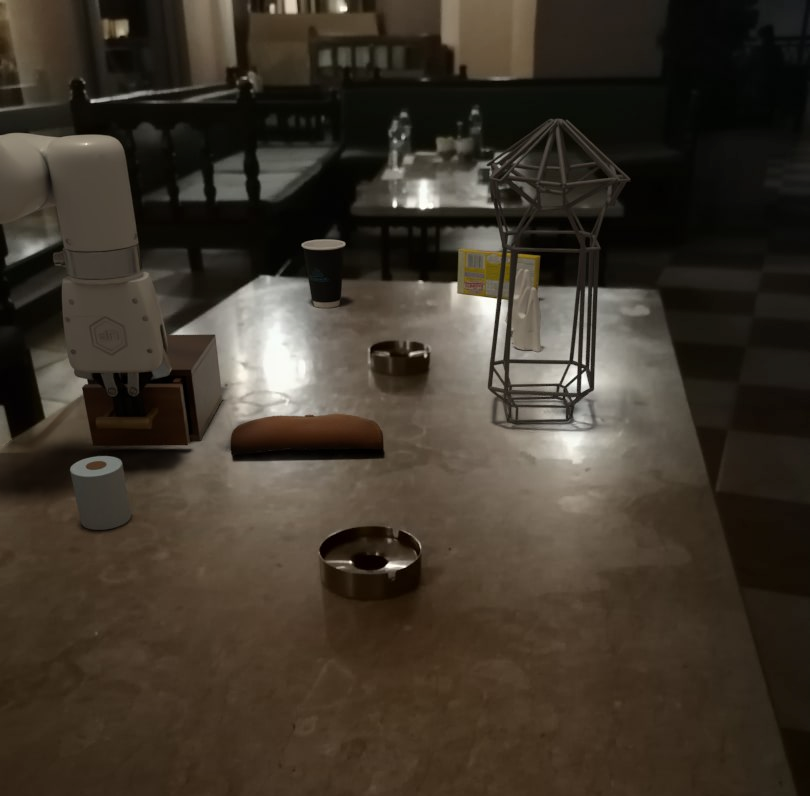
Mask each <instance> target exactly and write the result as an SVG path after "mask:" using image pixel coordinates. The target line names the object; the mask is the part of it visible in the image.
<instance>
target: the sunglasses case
mask: <svg viewBox="0 0 810 796" xmlns="http://www.w3.org/2000/svg"><path fill="white" fill-rule="evenodd" d="M285 450H292V451H293V450H294V451H314V450H315V451H316V450H375V451H376V450H380V452H382V453H385V444H384V433H383V430H382V429H381V427H380V426H379V424H378V423H377V422H375V421H374V420H371V419H368V418H364V417H361V416H358V415H352V414H345V413H332V414H324V415H314V414H305V415H271V416H265V417H260V418H256V419H253V420H250V421H247V422H243V423H240V424H239V425H237V426H236V427H235V428H234V429H233V430H232V433H231V436H230V453H231V457H233V456H236V455H245V454H256V453H268V452H279V451H285Z"/></svg>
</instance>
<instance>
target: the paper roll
mask: <svg viewBox="0 0 810 796" xmlns="http://www.w3.org/2000/svg"><path fill="white" fill-rule="evenodd" d="M69 472H70V476H71V481H72V486H73V491H74V496H75V499H76V500H75V501H76V505H77V506H76V507H77V510H78V514H79V520H80V523H81V526H83V527H84V528H86V529H88V530H92V531H105V530H111V529H116V528H118V527H121V526H123V525H125V524H127V523H128V522H129V521H130V520H131V518H132V511H131V510H132V509H131V505H130V499H129V494H128V487H127V482H126V476H125V471H124V465H123V461H122V460H121V459H120V458H118V457H117V456H109V455H97V456H96V455H95V456H91V457H86V458H83V459H81V460H78V461H76V462H75V463H73V464H72V465H71V466H70V469H69Z"/></svg>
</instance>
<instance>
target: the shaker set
mask: <svg viewBox="0 0 810 796" xmlns="http://www.w3.org/2000/svg"><path fill="white" fill-rule="evenodd" d="M539 300H540V299H539V293H538V294H537V290H536V288H534V287H533V286H532V280H531V275H530V272H529V270H527V269H526V270H524V269H520V270H519V271H518V273H517V275H516V280H515V289H514V299H513V308H512V324H511V332H512V333H511V341H513V343H512V346H513V347H515V348H516V349H518V350H522V351H525V350H526V351H530V350H531V351H533V352H536V353H537V352H538V353H539V352H542V350H541V349H542V346H541V321H542V312H541V306H540V305H541V304H540V301H539ZM507 316H508V311H507V312H506V316H505V320H504V322H505V323H506V324H507Z"/></svg>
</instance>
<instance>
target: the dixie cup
mask: <svg viewBox="0 0 810 796" xmlns="http://www.w3.org/2000/svg"><path fill="white" fill-rule="evenodd" d="M345 246H346V242H345V241H343V240H338V239H313V240H307V241H304V242H302V243H301V247H302V248H303V255H304V261H305V266H306V273H307V280H308V284H309V285H308V286H309V291H310V298H311V301H312V302H313V306H314V307H315V308H319V309H330V308H336V307H338V306H340V301H341V300H342V288H343V271H344V270H343V269H344V258H345V257H344V255H345Z"/></svg>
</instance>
